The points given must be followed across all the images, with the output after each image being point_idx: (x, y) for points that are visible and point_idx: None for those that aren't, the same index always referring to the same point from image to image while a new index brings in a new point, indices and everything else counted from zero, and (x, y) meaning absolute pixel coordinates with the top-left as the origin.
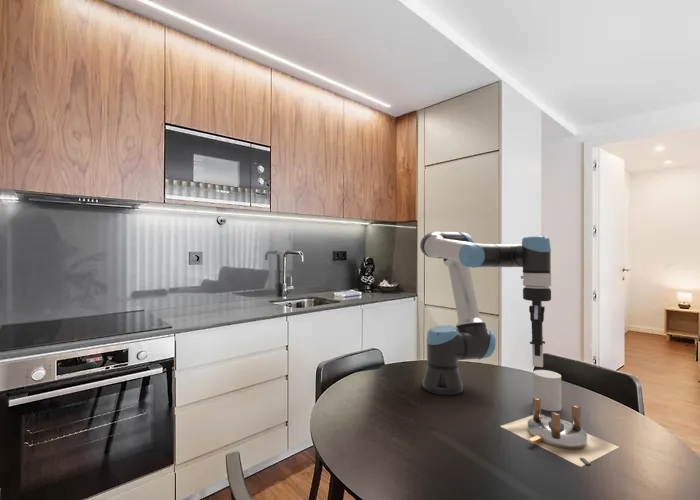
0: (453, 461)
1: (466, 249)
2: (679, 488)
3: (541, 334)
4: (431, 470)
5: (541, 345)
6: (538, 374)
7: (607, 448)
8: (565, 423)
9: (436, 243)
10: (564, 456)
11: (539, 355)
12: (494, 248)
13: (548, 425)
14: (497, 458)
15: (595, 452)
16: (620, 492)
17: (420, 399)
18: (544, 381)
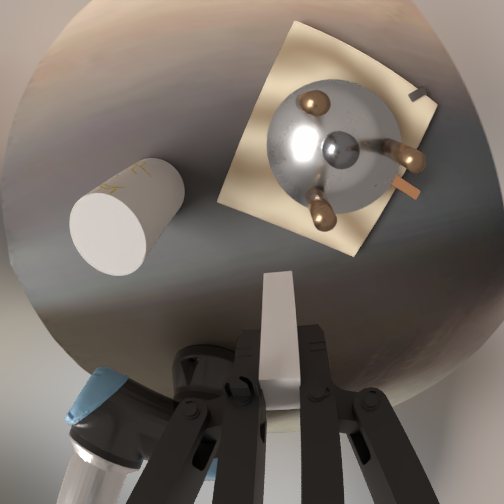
0: (464, 276)
1: None
2: None
3: (380, 459)
4: (482, 287)
5: (299, 378)
6: (133, 258)
7: (324, 42)
8: (288, 129)
9: None
10: (418, 129)
11: (319, 329)
12: None
13: (332, 167)
14: (444, 231)
15: (363, 67)
16: (445, 55)
17: None
18: (150, 229)
